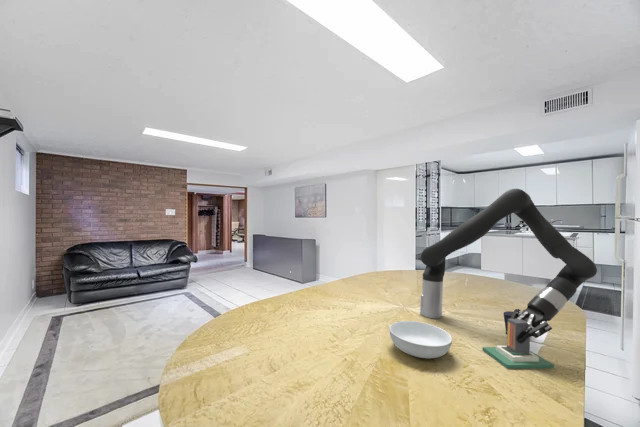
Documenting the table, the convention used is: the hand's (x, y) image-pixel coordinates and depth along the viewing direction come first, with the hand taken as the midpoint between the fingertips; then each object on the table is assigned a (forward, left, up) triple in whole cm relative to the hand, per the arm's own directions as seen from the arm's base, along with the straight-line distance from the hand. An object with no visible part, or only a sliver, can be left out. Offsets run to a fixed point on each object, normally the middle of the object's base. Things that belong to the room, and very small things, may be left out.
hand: (512, 338), depth 95 cm
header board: (+1, +1, -7) cm, 7 cm away
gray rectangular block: (+1, +1, -4) cm, 4 cm away
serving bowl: (-27, -15, -7) cm, 32 cm away
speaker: (0, +26, -7) cm, 27 cm away
